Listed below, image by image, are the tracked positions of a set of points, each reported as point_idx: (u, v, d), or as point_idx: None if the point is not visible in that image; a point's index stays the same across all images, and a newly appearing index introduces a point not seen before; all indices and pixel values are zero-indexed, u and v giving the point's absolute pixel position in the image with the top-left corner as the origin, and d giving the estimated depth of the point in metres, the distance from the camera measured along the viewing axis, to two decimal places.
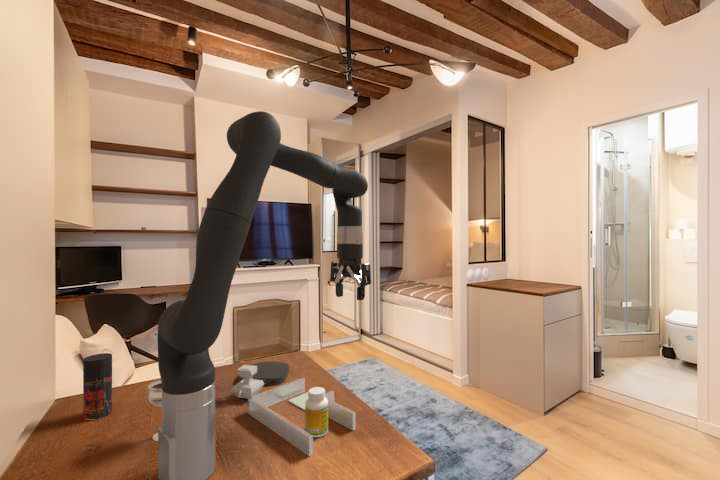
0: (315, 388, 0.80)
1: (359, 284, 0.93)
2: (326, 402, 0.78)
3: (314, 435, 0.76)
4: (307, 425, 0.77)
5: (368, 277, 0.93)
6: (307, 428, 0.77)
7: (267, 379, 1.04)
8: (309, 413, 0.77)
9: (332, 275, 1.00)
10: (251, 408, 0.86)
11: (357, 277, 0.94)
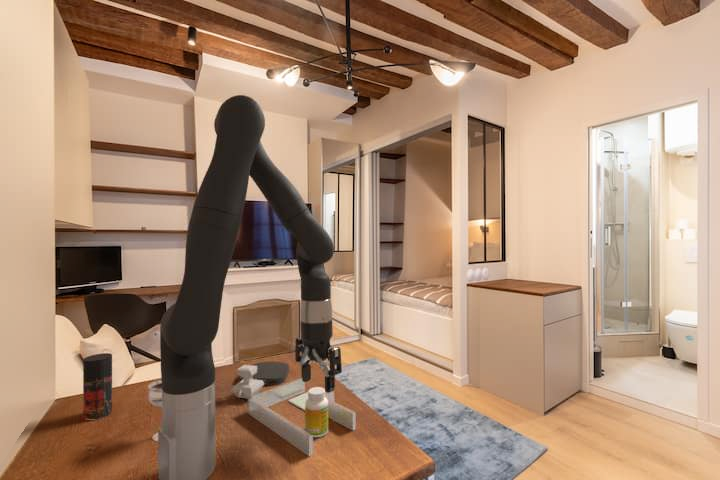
0: (315, 388, 0.80)
1: (327, 374, 0.75)
2: (326, 402, 0.78)
3: (314, 435, 0.76)
4: (307, 425, 0.77)
5: (338, 364, 0.75)
6: (307, 428, 0.77)
7: (267, 379, 1.04)
8: (309, 413, 0.77)
9: (297, 355, 0.83)
10: (251, 408, 0.86)
11: (325, 364, 0.76)
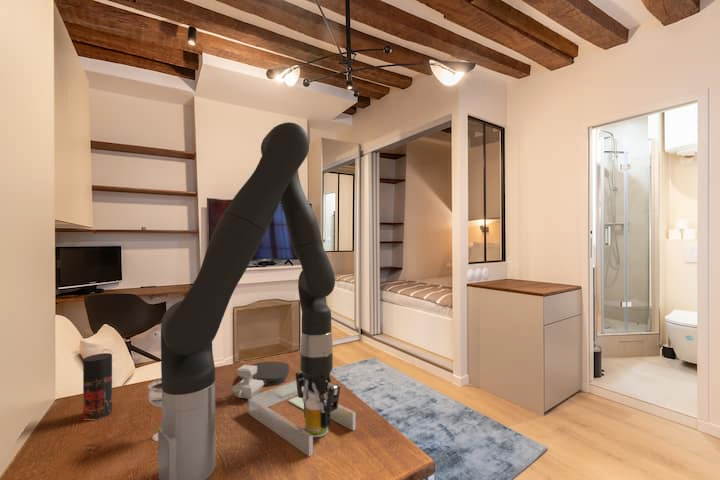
0: None
1: (323, 410, 0.76)
2: None
3: (314, 435, 0.76)
4: (307, 425, 0.77)
5: (335, 401, 0.76)
6: (307, 428, 0.77)
7: (267, 379, 1.04)
8: (309, 413, 0.77)
9: (299, 390, 0.82)
10: (251, 408, 0.86)
11: (322, 400, 0.76)
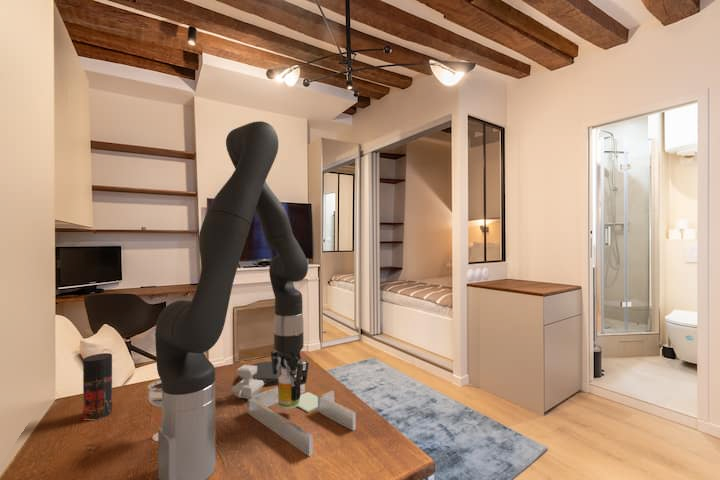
0: None
1: (293, 384, 0.83)
2: None
3: (285, 407, 0.84)
4: (279, 398, 0.85)
5: (304, 376, 0.83)
6: (279, 400, 0.85)
7: (267, 379, 1.05)
8: (281, 386, 0.85)
9: (274, 367, 0.90)
10: (251, 408, 0.86)
11: (293, 375, 0.84)
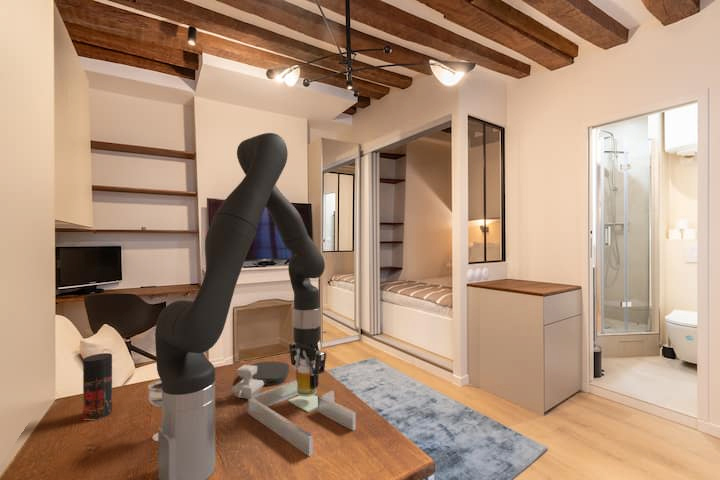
0: None
1: (312, 373, 0.90)
2: None
3: (304, 394, 0.91)
4: (299, 386, 0.91)
5: (322, 366, 0.90)
6: (299, 389, 0.91)
7: (267, 379, 1.04)
8: (300, 376, 0.91)
9: (292, 358, 0.96)
10: (251, 408, 0.86)
11: (311, 365, 0.90)
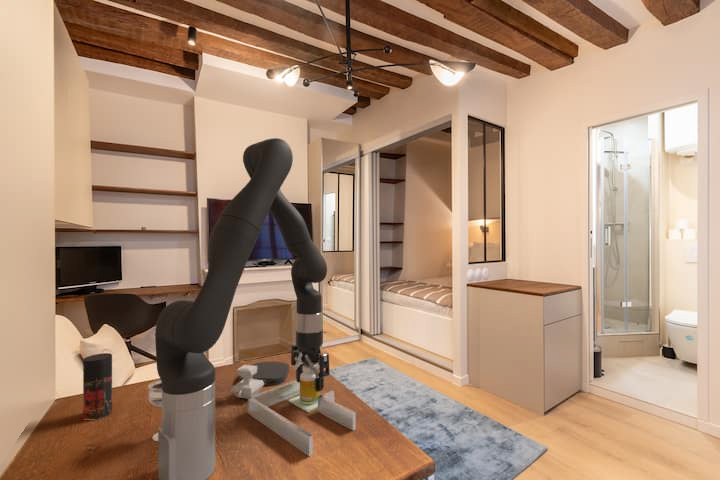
0: None
1: (317, 375, 0.89)
2: None
3: (307, 402, 0.91)
4: (301, 394, 0.92)
5: (327, 368, 0.90)
6: (301, 396, 0.92)
7: (267, 379, 1.05)
8: (303, 384, 0.91)
9: (293, 359, 0.97)
10: (251, 408, 0.86)
11: (315, 367, 0.90)
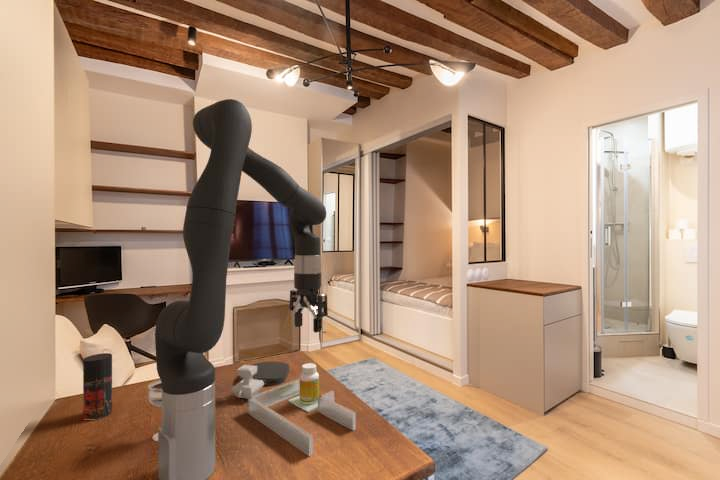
0: (308, 364, 0.95)
1: (315, 316, 0.89)
2: (317, 375, 0.93)
3: (307, 402, 0.91)
4: (301, 394, 0.92)
5: (325, 308, 0.90)
6: (301, 397, 0.92)
7: (267, 379, 1.05)
8: (302, 384, 0.91)
9: (291, 304, 0.97)
10: (251, 408, 0.86)
11: (314, 308, 0.90)
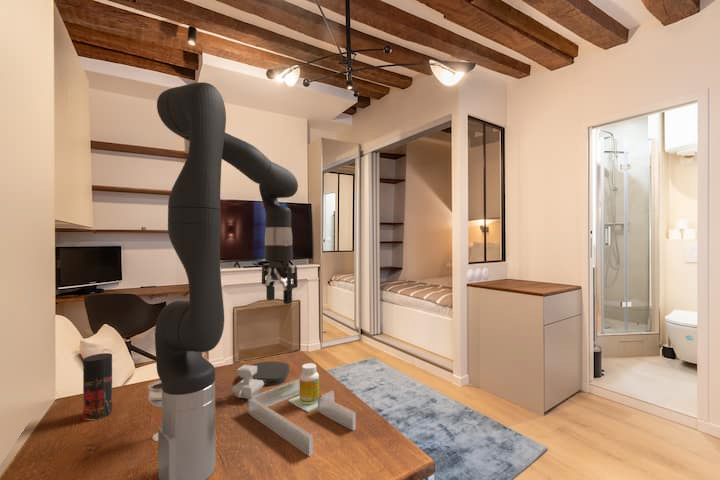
0: (308, 364, 0.95)
1: (285, 287, 0.89)
2: (317, 375, 0.93)
3: (307, 402, 0.91)
4: (301, 394, 0.92)
5: (295, 280, 0.90)
6: (301, 397, 0.92)
7: (267, 379, 1.05)
8: (302, 384, 0.91)
9: (263, 278, 0.97)
10: (251, 408, 0.86)
11: (284, 280, 0.90)
